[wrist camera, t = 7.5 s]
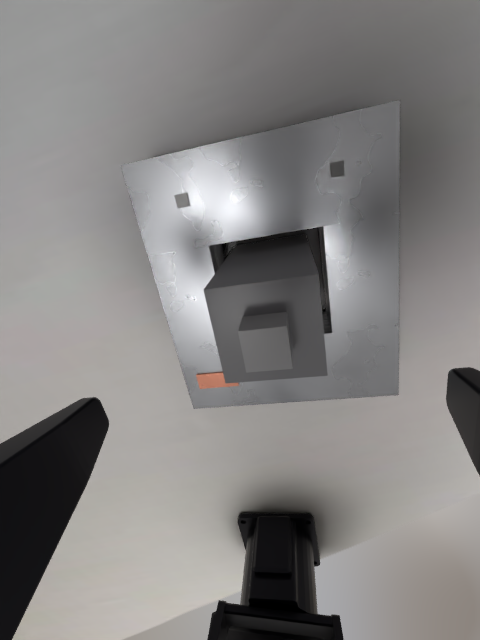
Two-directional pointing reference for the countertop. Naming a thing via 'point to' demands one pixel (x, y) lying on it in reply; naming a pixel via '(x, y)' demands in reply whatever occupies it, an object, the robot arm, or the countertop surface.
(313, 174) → the socket plate
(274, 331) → the plug
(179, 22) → the countertop surface
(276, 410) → the countertop surface
